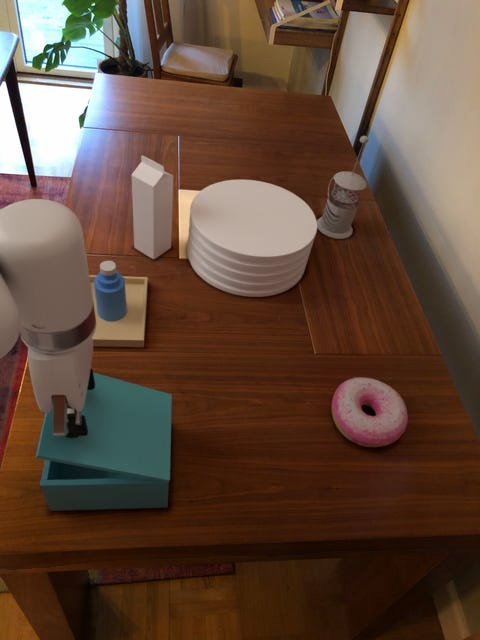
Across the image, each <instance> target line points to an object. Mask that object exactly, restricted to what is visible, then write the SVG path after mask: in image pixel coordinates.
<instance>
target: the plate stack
mask: <svg viewBox="0 0 480 640" xmlns="http://www.w3.org/2000/svg"><path fill="white" fill-rule="evenodd" d="M188 221H189V222H188V224H189V225H188V237H187V239H188V240H187V258H188V261H189V264H190V265H191V268H192V269H193V270H194V272H195V273H196V274H197V275H198V276H199V277H200V278H201V279H202V280H203V281H205V282H206V283H207V284H209V285H210V286H213V287H214V288H216V289H218V290H221V291H223V292H226V293H229V294H232V295H236V296H241V297H248V298H263V297H270V296H275V295H278V294H282V293H284V292H286V291H289V290H290V289H292V288H293V287H295V285H297V284H298V283H299V282H300V280H301V279H302V277H303V275H304V273H305V270H306V266H307V264H308V260H309V258H310V254H311V251H312V248H313V244H314V242H315V239H316V234H317V232H318V228H317V218H316V215H315V213H314V211H313V210H312V208H311V207H310V206H309V205H308V203H306V202H305V200H303V199H302V198H300V196H298V195H296V194H295V193H293V192H292V191H290V190H287V189H286V188H283V187H281V186H278V185H276V184H272V183H270V182H269V183H268V182H265V181H260V180H254V179H229V180H223V181H219V182H215V183H213V184H209V185H208V186H206V187H204V188H202V189H201V190H200V191H199V192H197V194H196V195H195V196H194V198H193V199H192V201H191V204H190V208H189V220H188Z"/></svg>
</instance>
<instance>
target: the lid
mask: <svg viewBox="0 0 480 640" xmlns="http://www.w3.org/2000/svg"><path fill="white" fill-rule="evenodd" d="M93 375H94V380H95V388H94V389H93V390H87V393H86V399H85V404H84V407H83V409H82V410H81V414H82V415H84V416H85V419H86V424H87V428H88V435H87V436H79V437H77V438H68V437H66V436H53V407H54V404H53V407H52V409H51V411H50V412H49V413H45V414H44V417H43V422H42V426H41V430H40V436H39V439H38V445H37V449H36V453H35V459H39V460H44V461H45V460H49V461H54V462H60V463H65V464H70V465H76V466H81V467H87V468H92V469H97V470H103V471H108V472H114V473H119V474H124V475H130V476H135V477H141V478H146V479H151V480H157V481H162V482H169V483H170V481H171V447H172V401H173V400H172V399H173V395H172V394H171V393H168V392H164V391H161V390H157V389H153V388H150V387H147V386H143V385H139V384H135V383H132V382H129V381H125V380H122V379H118V378H115V377H112V376H111V377H110V376H107V375H103V374H101V373H96V372H93ZM67 413H75V412H74V409H67Z"/></svg>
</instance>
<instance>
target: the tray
mask: <svg viewBox="0 0 480 640" xmlns="http://www.w3.org/2000/svg"><path fill="white" fill-rule="evenodd" d="M89 276H90V283H91V290H92V296H93V303H94V309H95V316H96V330H95V332H94V334H93V336H92V337H93V347H105V348H106V347H109V348H111V347H112V348H144V347H145V337H146V335H145V333H146V319H147V301H148V289H149V288H148V285H149V283H148V282H149V280H148V279H149V278H148V276H128V275H127V276H123V275H122V276H123V278H124V279H125V291H126V306H127V312H126V315H125V316H124V317H123V318H122V319H120V320H118V321H105V320H103V319H102V318H100V317H99V315H98V311H97V304H96V296H95V288H94V280H95V278H96V277H97V276H98V274H89Z"/></svg>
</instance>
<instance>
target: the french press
mask: <svg viewBox="0 0 480 640" xmlns="http://www.w3.org/2000/svg"><path fill="white" fill-rule="evenodd" d="M359 142H360V143H361V147H360V150H359V153H358V155H357V158H356V161H355V164H354V167H353V170H352V171H344V170H343V171H339V172H337V173H335V174H334V175H333V177H332V178H331V179H330V181H329V183H328V187H327V201H326V203H325V207H324V209H323V213H322V216H321V217H319V218H317V219H316V221H317V230H318V231H319V232H320V233H321V234H323V235H325V236H326V237H329V238H332V239H338V240H339V239H340V240H344V239H346V238H350V236H352V235H353V230H354V229H353V227H352V224H353V221H354V219H355V215H356V213H357V211H358V208H359V204H360V202H359V201H360V196H359V194H358V193H357V192H361V191H363V190H365V189H366V188H367V184H368V183H367V181H366V180H365V178H364V177H362V176H361V175H360V174H358V173H356V172H355V170H356V167H357V165H358V164H357V163H358V161H359V158H360V155H361V152H362V149H363V146H364V144H367V143H369V137H368V136H367V135H362V136H360V138H359ZM333 180H334V185H333V189H331V190H330V186H331V184H332V181H333ZM336 185H337V186H338V187H336ZM330 191H331V192H330ZM333 201H334V203H333ZM350 205H351V206H350ZM330 211H331V212H330Z"/></svg>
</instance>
